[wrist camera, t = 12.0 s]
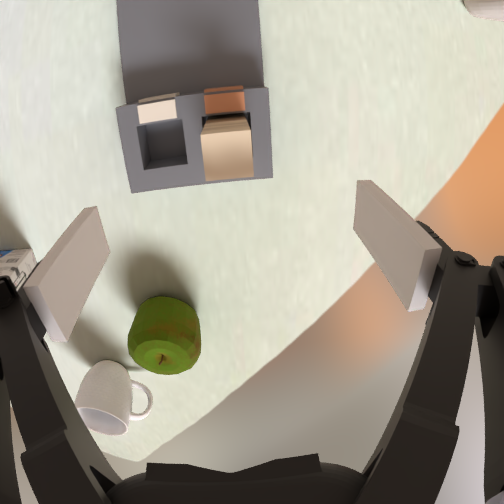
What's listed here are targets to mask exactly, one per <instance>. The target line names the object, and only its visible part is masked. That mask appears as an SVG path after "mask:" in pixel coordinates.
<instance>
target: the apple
mask: <svg viewBox="0 0 504 504" xmlns="http://www.w3.org/2000/svg"><path fill="white" fill-rule="evenodd" d="M128 350H129V354H130V356H131V357H132V359H133V360H134V361H135V363H137V364H138V365H140V366H141V367H143V368H145V369H146V370H148V371H151V372H154V373H157V374H164V375H172V374H179V373H181V372H184V371H186V370H188V369H190V368H192V367H193V365H194V364H195V363H196V362H197V360H198V358H199V355H200V353H201V333H200V324H199V319H198V316H197V314H196V311H195V310H194V309H193V308H191V307H190V306H189V305H188V304H186V303H184V302H182V301H180V300H178V299H176V298H171V297H164V296H159V297H154V298H149V299H148V300H146V301H145V302H144V303H142V304H141V305H140V307H139V309H138V311H137V313H136V316H135V318H134V321H133V323H132V326H131V329H130V331H129V334H128Z"/></svg>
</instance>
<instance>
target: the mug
mask: <svg viewBox="0 0 504 504" xmlns="http://www.w3.org/2000/svg"><path fill="white" fill-rule="evenodd" d="M132 387H136V388H139V389H141V390H143V391H144V392H145V393H146V394H147V397H148V406H147V408H146V410H145V411H144V412H143V413H140V414H137V413H133V412H131V411H132V400H133V391H132V389H133V388H132ZM74 405H75V407H76V408H77V410H78V412H79V414H80V416H81V418H82V420H83V421H84V423H85V425H86V427H87V428H88V429H90V430H92V431H95V432H97V433H101V434H105V435H110V436H119V435H123V434H125V433H127V431H128V428H129V422H130V420H141V419H143V418H145V417H146V416H147V415H148V414H149V413H150V411H151V409H152V405H153V397H152V394H151V392H150V390H149V389H148V388H147V387H146V386H145V385H143V384H141V383H139V382H137V381H134V380H131V379H130V376H129V374H128V371H127V370H126V369H125V368H124V367H123V366H122V365H121V364H119V363H117V362H114V361H111V360H103V361H100V362H98V363H97V364H95V365H94V366H92V368H91V369H90V370H89V371H88V372H87V373H86V375H85V376H84V378H83V380H82V383H81V385H80V388H79V390H78V394H77V396H76V400H75V404H74Z"/></svg>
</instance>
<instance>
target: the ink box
mask: <svg viewBox="0 0 504 504" xmlns="http://www.w3.org/2000/svg"><path fill="white" fill-rule="evenodd" d="M36 264H37V262H36V259H35V256H34V253H33V250H32V249H31V248H30V249H19V250H9V251H0V276H4V275H7V276H9V277H10V278H11V280H12V282H13V284H14V286H15V288H16V290H17V291H18V290H19V288H20V287H21V285H22V284H23V282H24V281H25V280H26V278H28V275H29V274H30V273H31V272H32V270H33V268H34V267H35V266H36Z"/></svg>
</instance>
